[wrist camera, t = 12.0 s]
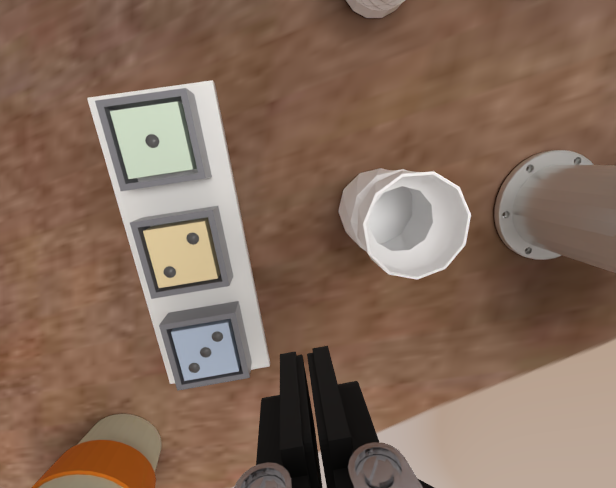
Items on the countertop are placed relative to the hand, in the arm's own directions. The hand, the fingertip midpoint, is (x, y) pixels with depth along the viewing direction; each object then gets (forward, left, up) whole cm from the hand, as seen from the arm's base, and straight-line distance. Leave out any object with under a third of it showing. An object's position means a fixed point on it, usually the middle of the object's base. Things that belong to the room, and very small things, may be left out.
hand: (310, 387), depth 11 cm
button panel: (+11, 0, -27) cm, 29 cm away
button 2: (+11, 0, -26) cm, 28 cm away
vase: (-10, -1, -27) cm, 29 cm away
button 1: (+11, -11, -26) cm, 30 cm away
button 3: (+11, +11, -26) cm, 30 cm away
